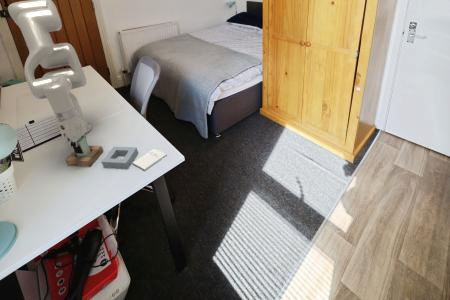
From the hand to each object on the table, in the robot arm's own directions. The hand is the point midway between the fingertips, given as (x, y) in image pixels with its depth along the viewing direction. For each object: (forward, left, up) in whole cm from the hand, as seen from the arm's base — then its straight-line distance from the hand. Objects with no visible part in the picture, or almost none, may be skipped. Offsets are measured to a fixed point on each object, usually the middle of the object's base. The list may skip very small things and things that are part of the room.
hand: (82, 149), depth 122 cm
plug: (0, 0, -5) cm, 5 cm away
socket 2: (+17, 0, -5) cm, 18 cm away
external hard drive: (+30, +1, -6) cm, 30 cm away
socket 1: (0, 0, -5) cm, 5 cm away
